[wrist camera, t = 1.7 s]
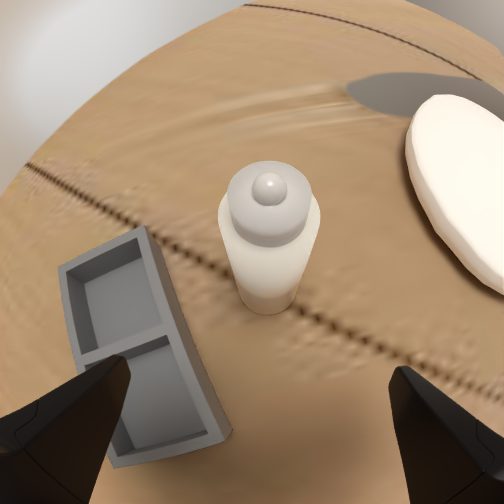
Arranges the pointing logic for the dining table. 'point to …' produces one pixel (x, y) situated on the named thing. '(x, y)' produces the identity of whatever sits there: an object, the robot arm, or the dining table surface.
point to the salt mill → (268, 233)
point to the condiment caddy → (141, 349)
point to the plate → (461, 180)
